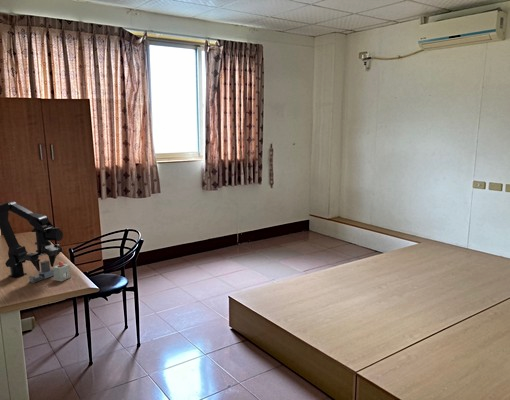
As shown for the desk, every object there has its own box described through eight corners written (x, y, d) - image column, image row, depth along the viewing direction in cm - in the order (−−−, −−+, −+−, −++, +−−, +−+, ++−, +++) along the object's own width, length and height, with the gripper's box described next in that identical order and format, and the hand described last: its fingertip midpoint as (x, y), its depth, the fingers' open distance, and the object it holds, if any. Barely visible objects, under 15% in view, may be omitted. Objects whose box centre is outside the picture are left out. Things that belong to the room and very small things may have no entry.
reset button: (58, 269, 223) (57, 262, 222) (61, 268, 225) (61, 261, 224) (61, 269, 222) (60, 263, 221) (64, 268, 224) (63, 261, 223)
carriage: (38, 277, 227) (37, 262, 225) (47, 274, 231) (45, 259, 230) (45, 278, 224) (43, 263, 223) (53, 275, 229) (52, 260, 227)
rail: (29, 281, 221) (29, 276, 220) (51, 273, 232) (51, 268, 232) (33, 282, 219) (33, 277, 219) (55, 274, 231) (55, 269, 230)
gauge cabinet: (54, 280, 223) (52, 267, 222) (64, 276, 228) (62, 263, 227) (61, 281, 220) (60, 268, 219) (71, 277, 226) (70, 264, 224)
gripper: (36, 246, 212) (40, 276, 215) (68, 237, 229) (71, 265, 232) (22, 244, 217) (25, 273, 220) (53, 235, 234) (56, 263, 236)
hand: (45, 268), depth 227 cm, fingers open, 8 cm apart
